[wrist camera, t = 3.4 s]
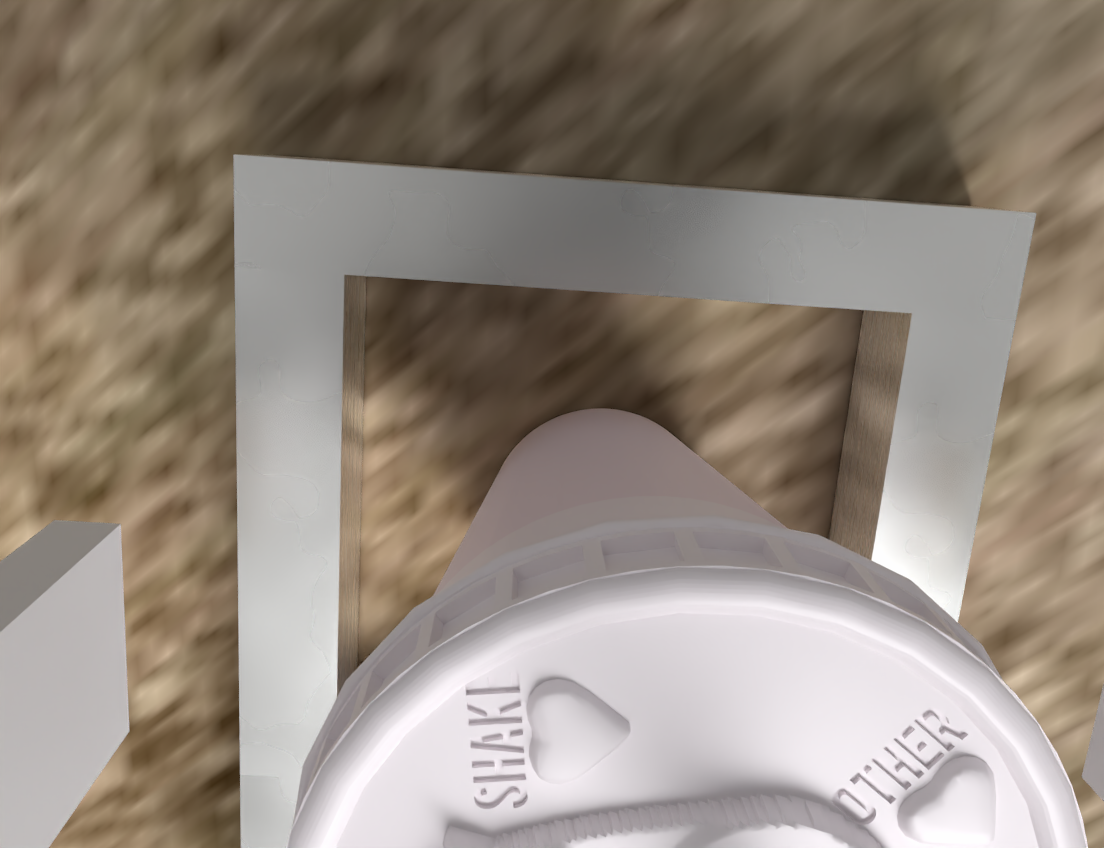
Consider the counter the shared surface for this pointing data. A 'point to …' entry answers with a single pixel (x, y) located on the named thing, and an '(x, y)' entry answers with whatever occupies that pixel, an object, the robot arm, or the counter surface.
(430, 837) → the smoothie
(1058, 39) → the counter surface
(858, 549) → the rail
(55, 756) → the robot arm
